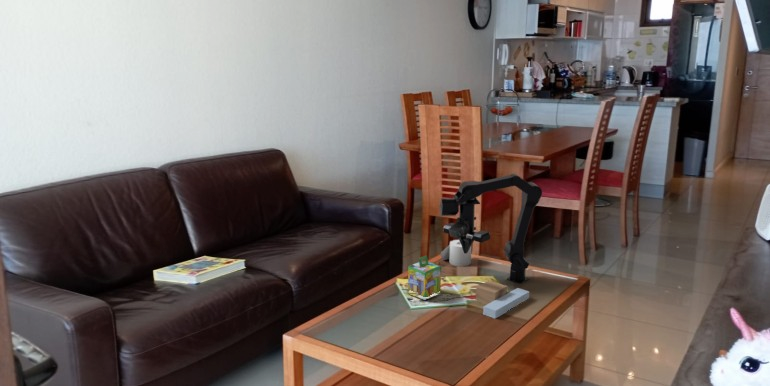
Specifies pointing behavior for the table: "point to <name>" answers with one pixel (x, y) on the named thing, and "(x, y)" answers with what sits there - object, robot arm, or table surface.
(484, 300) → the block
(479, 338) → the table surface
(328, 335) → the table surface
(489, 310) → the pale grey long bar
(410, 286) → the chalk box
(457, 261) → the toilet tissue
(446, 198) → the robot arm
